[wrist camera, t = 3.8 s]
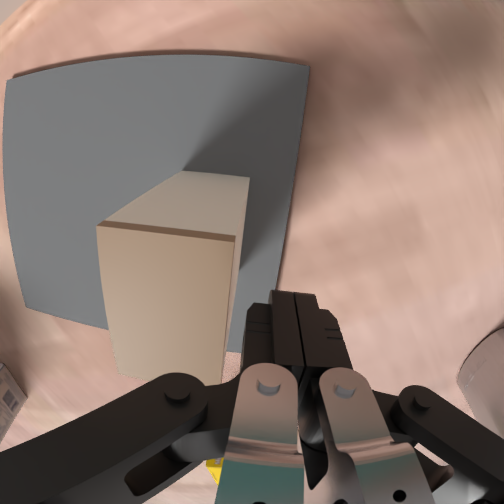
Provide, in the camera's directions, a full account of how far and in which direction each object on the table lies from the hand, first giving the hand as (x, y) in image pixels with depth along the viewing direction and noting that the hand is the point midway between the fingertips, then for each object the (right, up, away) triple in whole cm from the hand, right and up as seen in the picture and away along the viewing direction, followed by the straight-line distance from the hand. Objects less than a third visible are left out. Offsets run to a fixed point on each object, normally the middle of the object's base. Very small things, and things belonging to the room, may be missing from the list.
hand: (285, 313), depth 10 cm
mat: (-10, +5, +8) cm, 14 cm away
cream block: (-4, +4, +8) cm, 9 cm away
